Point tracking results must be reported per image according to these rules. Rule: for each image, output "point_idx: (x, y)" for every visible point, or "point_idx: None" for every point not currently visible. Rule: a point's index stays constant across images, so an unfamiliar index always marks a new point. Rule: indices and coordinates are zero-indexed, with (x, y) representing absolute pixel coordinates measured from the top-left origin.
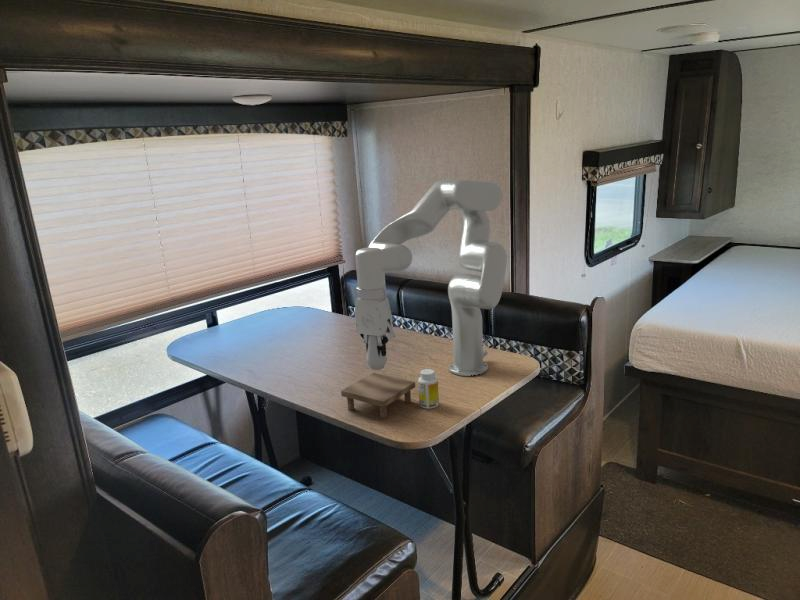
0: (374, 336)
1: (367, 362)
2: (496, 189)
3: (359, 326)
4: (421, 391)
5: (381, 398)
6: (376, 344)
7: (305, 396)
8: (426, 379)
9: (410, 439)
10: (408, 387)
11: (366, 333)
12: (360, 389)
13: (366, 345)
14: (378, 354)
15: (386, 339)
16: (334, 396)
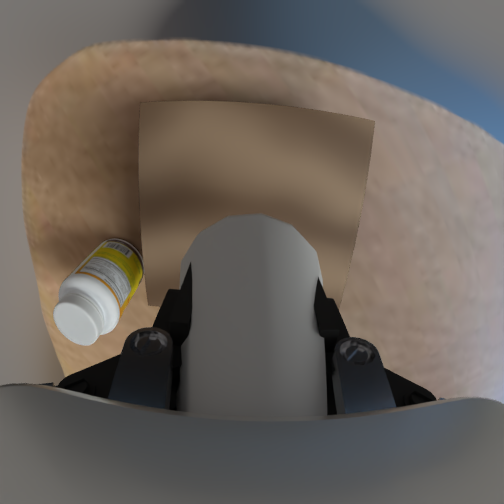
0: None
1: (289, 224)
2: None
3: (491, 484)
4: (99, 261)
5: (164, 120)
6: (191, 336)
7: (479, 173)
8: (70, 292)
9: (59, 74)
10: (145, 264)
11: (324, 429)
12: (305, 160)
13: (332, 320)
14: (190, 275)
15: (61, 385)
16: (417, 200)
